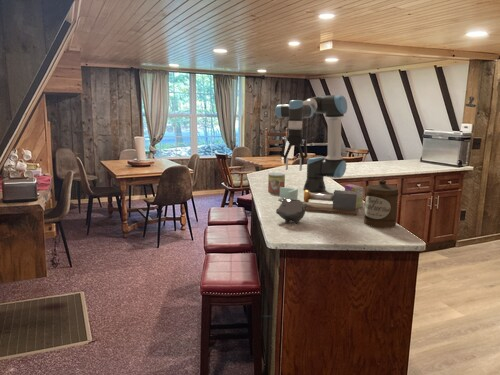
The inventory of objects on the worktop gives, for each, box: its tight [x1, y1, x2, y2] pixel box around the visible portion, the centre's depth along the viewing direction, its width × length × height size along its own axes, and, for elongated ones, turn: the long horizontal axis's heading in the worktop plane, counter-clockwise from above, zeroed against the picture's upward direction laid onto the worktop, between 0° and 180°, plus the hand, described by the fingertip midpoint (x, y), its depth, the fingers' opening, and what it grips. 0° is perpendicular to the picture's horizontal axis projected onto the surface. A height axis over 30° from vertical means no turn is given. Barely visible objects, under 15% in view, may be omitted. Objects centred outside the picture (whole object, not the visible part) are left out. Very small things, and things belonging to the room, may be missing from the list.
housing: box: [332, 189, 357, 211], centre depth 212 cm, size 8×12×9 cm
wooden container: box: [363, 178, 399, 229], centre depth 186 cm, size 15×15×22 cm
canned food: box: [267, 172, 286, 194], centre depth 263 cm, size 11×11×12 cm
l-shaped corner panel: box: [278, 187, 299, 202], centre depth 236 cm, size 12×12×8 cm
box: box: [344, 184, 364, 209], centre depth 225 cm, size 10×6×12 cm, turn 21°
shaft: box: [303, 190, 333, 202], centre depth 215 cm, size 7×21×7 cm, turn 73°
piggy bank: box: [275, 198, 307, 225], centre depth 187 cm, size 11×15×12 cm
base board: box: [302, 201, 359, 216], centre depth 216 cm, size 16×36×2 cm, turn 73°
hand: (293, 169), depth 217 cm, fingers open, 7 cm apart
